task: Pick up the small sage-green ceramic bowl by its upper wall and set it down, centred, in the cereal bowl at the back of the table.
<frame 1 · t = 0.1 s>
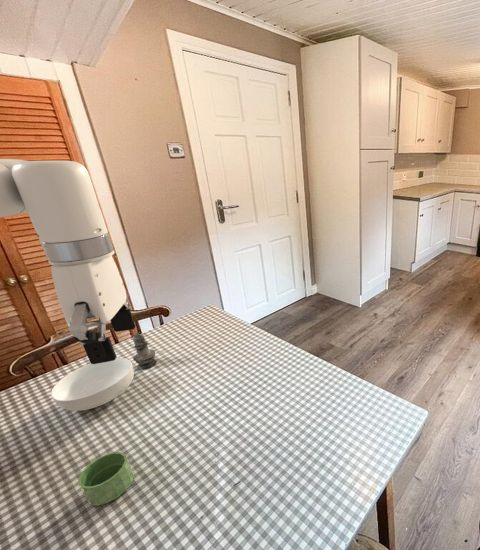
hand: (115, 344, 52), 33 cm above the table, tool pointing down, fingers open, 9 cm apart
green bowl: (112, 487, 62), on the table
cereal bowl: (102, 397, 85), on the table
grey tall carved piece: (147, 364, 98), on the table
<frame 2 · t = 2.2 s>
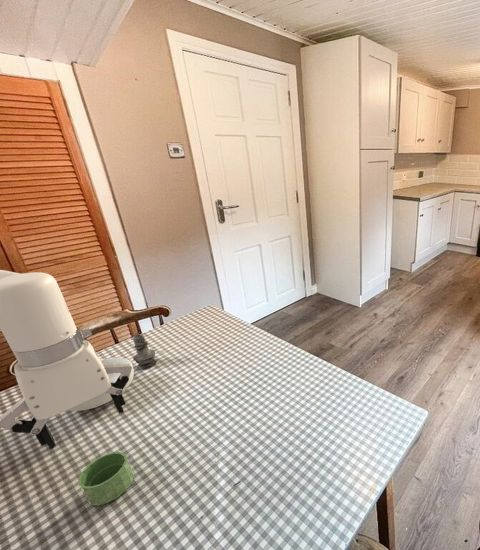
hand: (88, 425, 56), 17 cm above the table, tool pointing down, fingers open, 9 cm apart
nothing on the table moved.
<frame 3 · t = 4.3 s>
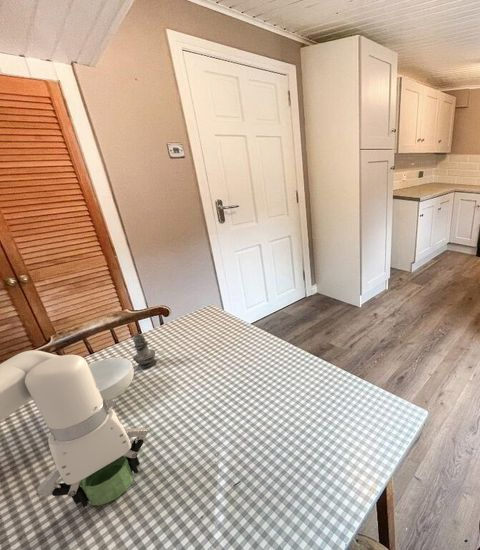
hand: (110, 484, 61), 1 cm above the table, tool pointing down, fingers closed on green bowl, 7 cm apart
green bowl: (112, 487, 62), on the table, touching gripper
everything else where it was.
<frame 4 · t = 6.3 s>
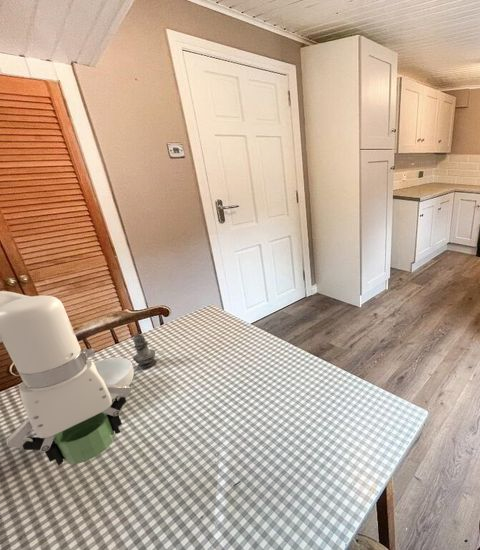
hand: (89, 443, 57), 12 cm above the table, tool pointing down, fingers closed on green bowl, 7 cm apart
green bowl: (91, 447, 57), point 12 cm above the table, touching gripper
everything else where it was.
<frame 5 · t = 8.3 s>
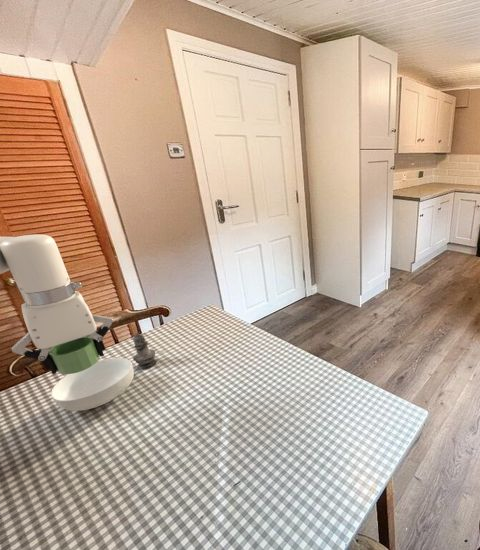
hand: (78, 361, 70), 18 cm above the table, tool pointing down, fingers closed on green bowl, 7 cm apart
green bowl: (79, 365, 71), point 17 cm above the table, touching gripper
everything else where it was.
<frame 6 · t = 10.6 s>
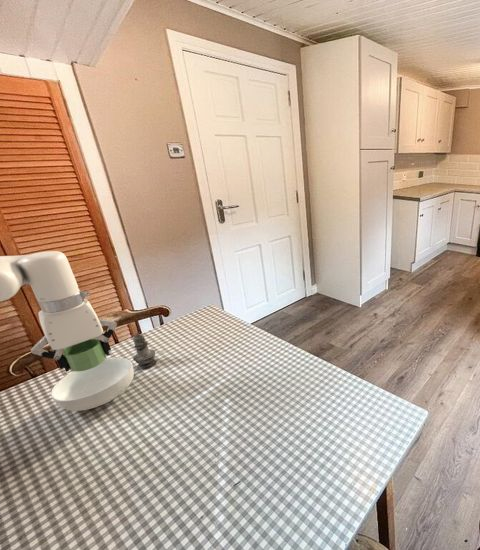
hand: (87, 360, 80), 12 cm above the table, tool pointing down, fingers closed on green bowl, 7 cm apart
green bowl: (88, 363, 80), point 11 cm above the table, touching gripper
everything else where it was.
when the fingers open (8 cm above the table, at t = 12.3 s): green bowl stays where it is, resting on cereal bowl.
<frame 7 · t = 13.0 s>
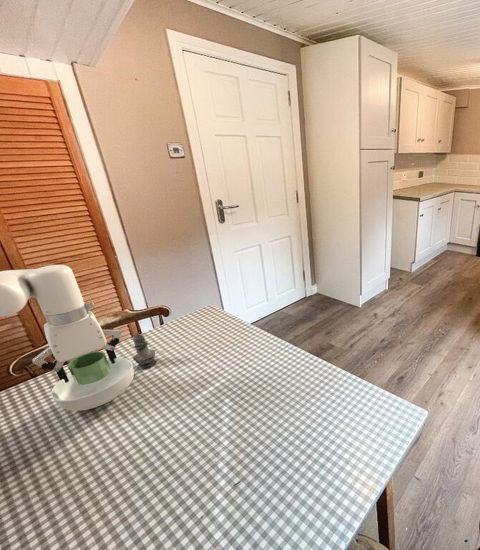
hand: (90, 370, 81), 9 cm above the table, tool pointing down, fingers open, 9 cm apart
green bowl: (94, 376, 82), point 7 cm above the table, touching cereal bowl
cereal bowl: (102, 397, 85), on the table, touching green bowl
everything else where it was.
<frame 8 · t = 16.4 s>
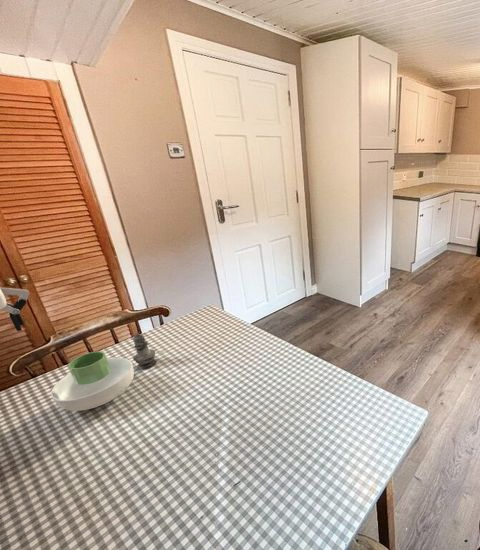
nothing on the table moved.
at the end: green bowl inside the target area in the cereal bowl (0.1 cm from its centre), point 7.3 cm above the cereal bowl's base; green bowl tilted 0°; green bowl touching cereal bowl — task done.
